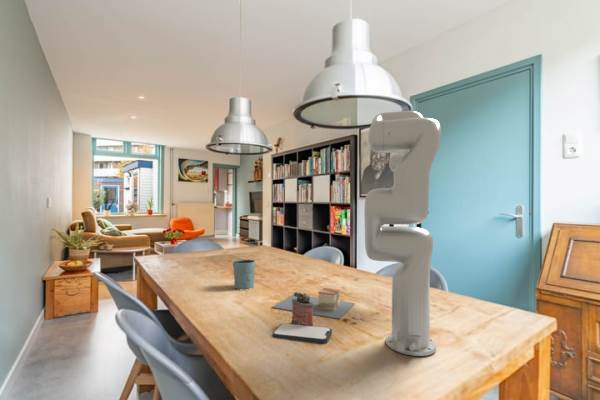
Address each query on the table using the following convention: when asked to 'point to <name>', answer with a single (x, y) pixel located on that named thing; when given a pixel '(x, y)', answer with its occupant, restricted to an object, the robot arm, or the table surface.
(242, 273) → the teal cup
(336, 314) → the rubber mat
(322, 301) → the maple cube
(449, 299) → the table surface
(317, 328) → the phone case
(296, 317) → the lighter
